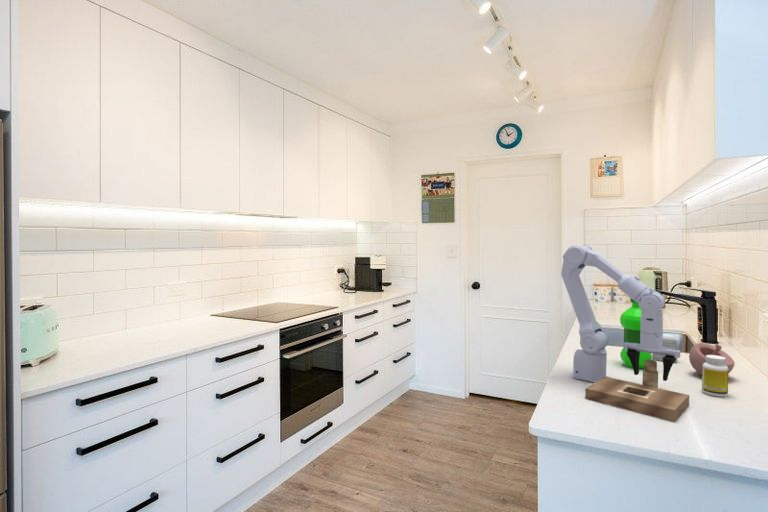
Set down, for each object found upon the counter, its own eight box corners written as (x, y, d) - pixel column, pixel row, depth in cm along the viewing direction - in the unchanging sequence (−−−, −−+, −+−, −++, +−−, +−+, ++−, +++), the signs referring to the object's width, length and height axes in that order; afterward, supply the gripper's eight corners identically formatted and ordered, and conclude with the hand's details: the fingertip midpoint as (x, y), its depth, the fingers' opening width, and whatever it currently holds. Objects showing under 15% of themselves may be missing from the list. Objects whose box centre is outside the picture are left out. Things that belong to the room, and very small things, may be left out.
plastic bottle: (655, 372, 150) (657, 299, 149) (621, 368, 154) (622, 298, 152) (649, 363, 159) (651, 295, 158) (616, 361, 163) (618, 294, 162)
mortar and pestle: (719, 385, 137) (720, 348, 136) (680, 374, 148) (681, 340, 147) (742, 379, 142) (743, 344, 141) (702, 369, 153) (703, 337, 152)
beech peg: (640, 390, 132) (641, 361, 132) (644, 387, 135) (645, 358, 134) (655, 394, 129) (656, 364, 129) (659, 390, 132) (660, 361, 132)
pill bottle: (732, 398, 126) (733, 360, 125) (708, 396, 127) (709, 359, 127) (720, 390, 132) (721, 354, 131) (697, 389, 133) (698, 353, 133)
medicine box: (676, 360, 164) (677, 337, 163) (677, 363, 160) (677, 340, 159) (652, 357, 168) (652, 335, 167) (651, 360, 164) (652, 337, 164)
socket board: (585, 398, 126) (585, 387, 126) (604, 386, 136) (604, 376, 136) (674, 421, 110) (674, 409, 110) (689, 405, 120) (689, 394, 120)
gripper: (683, 334, 129) (682, 379, 129) (629, 326, 139) (628, 369, 140) (677, 337, 124) (676, 385, 124) (621, 330, 134) (621, 373, 135)
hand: (650, 377), depth 132 cm, fingers open, 7 cm apart
